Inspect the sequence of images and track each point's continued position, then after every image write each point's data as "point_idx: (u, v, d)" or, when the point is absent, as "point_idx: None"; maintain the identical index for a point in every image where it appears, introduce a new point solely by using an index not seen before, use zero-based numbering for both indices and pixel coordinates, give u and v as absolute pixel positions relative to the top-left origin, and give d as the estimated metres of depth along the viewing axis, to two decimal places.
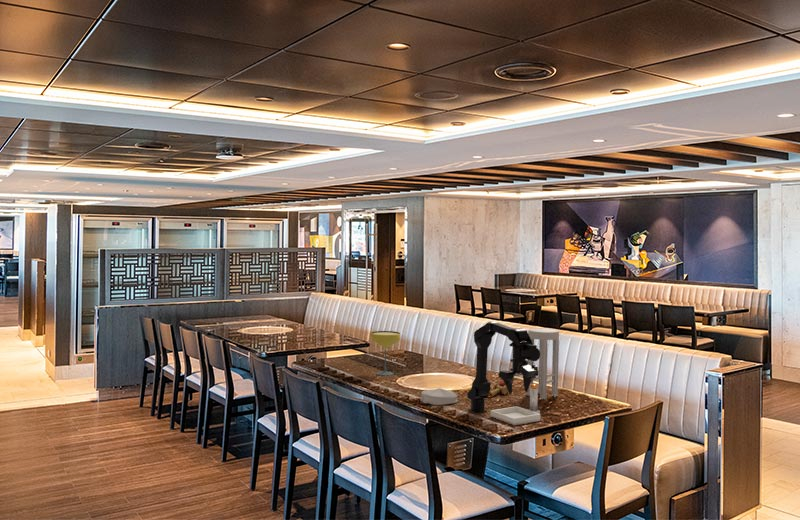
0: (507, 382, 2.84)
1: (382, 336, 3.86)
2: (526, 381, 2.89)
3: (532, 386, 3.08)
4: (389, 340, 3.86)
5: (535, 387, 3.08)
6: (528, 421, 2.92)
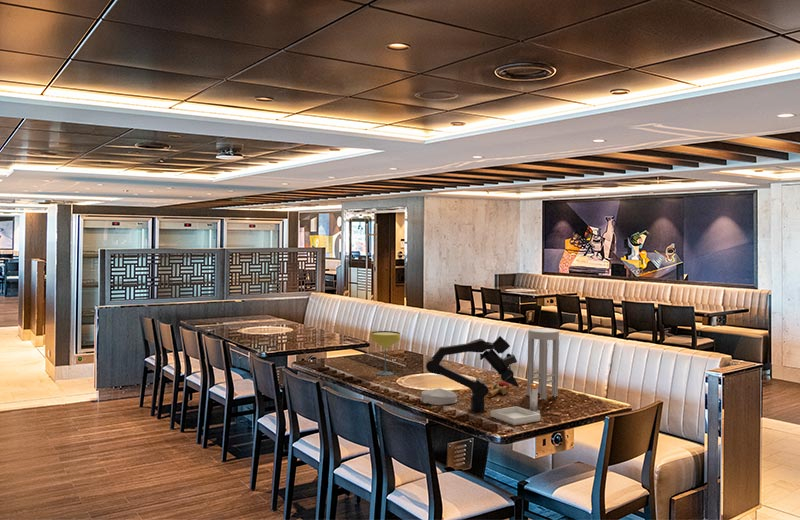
0: (510, 380, 3.04)
1: (382, 336, 3.86)
2: None
3: (532, 386, 3.08)
4: (389, 340, 3.86)
5: (535, 387, 3.08)
6: (528, 421, 2.92)
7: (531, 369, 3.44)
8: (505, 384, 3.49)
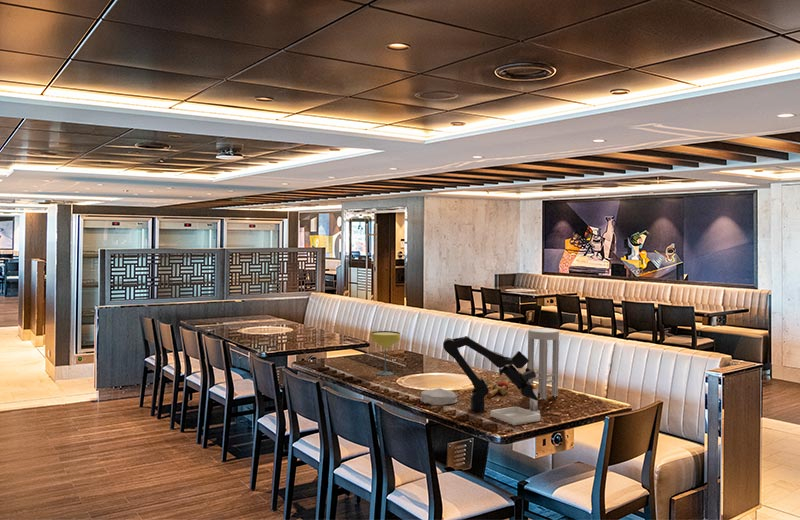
0: (529, 393, 3.06)
1: (382, 336, 3.86)
2: None
3: None
4: (389, 340, 3.86)
5: (535, 387, 3.08)
6: (528, 421, 2.92)
7: None
8: (504, 384, 3.49)
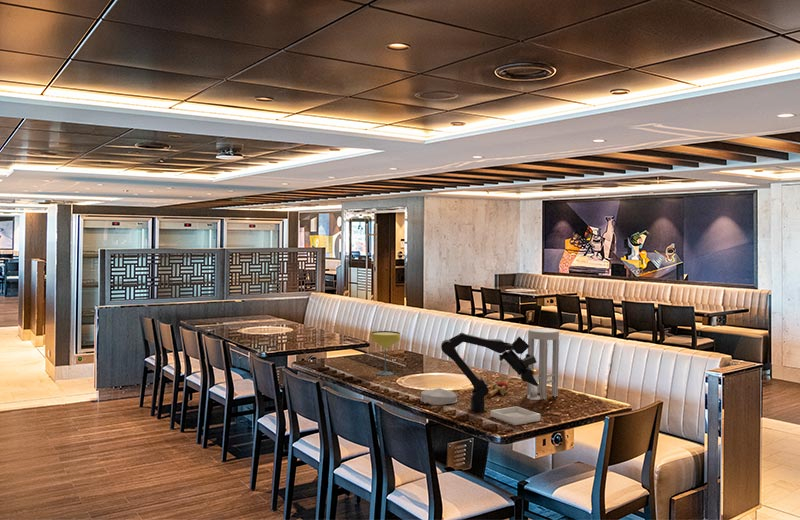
0: (529, 379, 3.06)
1: (382, 336, 3.86)
2: None
3: None
4: (389, 340, 3.86)
5: (535, 373, 3.07)
6: (528, 421, 2.92)
7: (531, 369, 3.44)
8: (504, 384, 3.49)
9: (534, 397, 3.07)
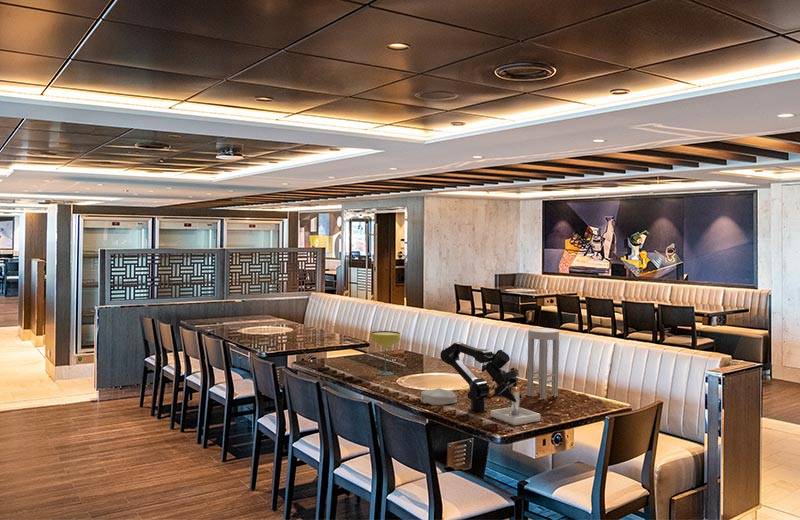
0: (506, 394, 2.95)
1: (382, 336, 3.86)
2: None
3: (512, 389, 2.98)
4: (389, 340, 3.86)
5: (515, 390, 2.97)
6: (528, 421, 2.92)
7: (531, 369, 3.44)
8: None
9: (513, 415, 2.96)
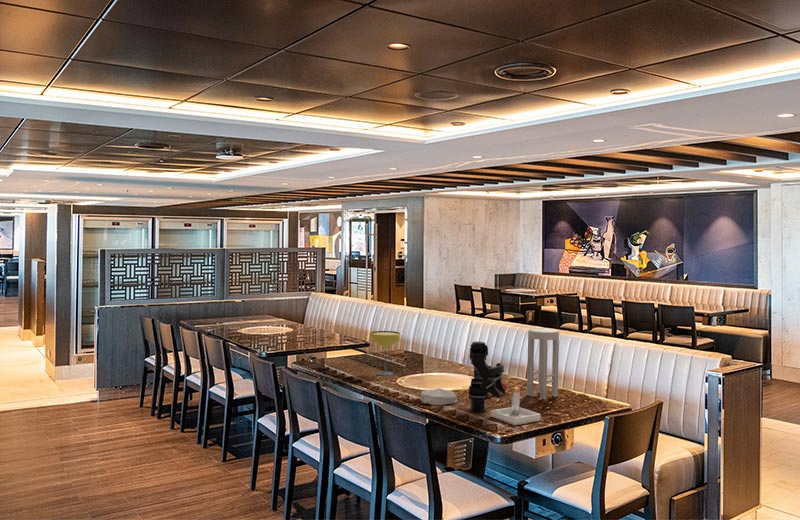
0: (491, 390, 2.99)
1: (382, 336, 3.86)
2: (498, 385, 3.08)
3: (512, 389, 2.97)
4: (389, 340, 3.86)
5: (515, 390, 2.96)
6: (528, 421, 2.92)
7: (531, 369, 3.44)
8: (502, 384, 3.48)
9: (513, 415, 2.96)
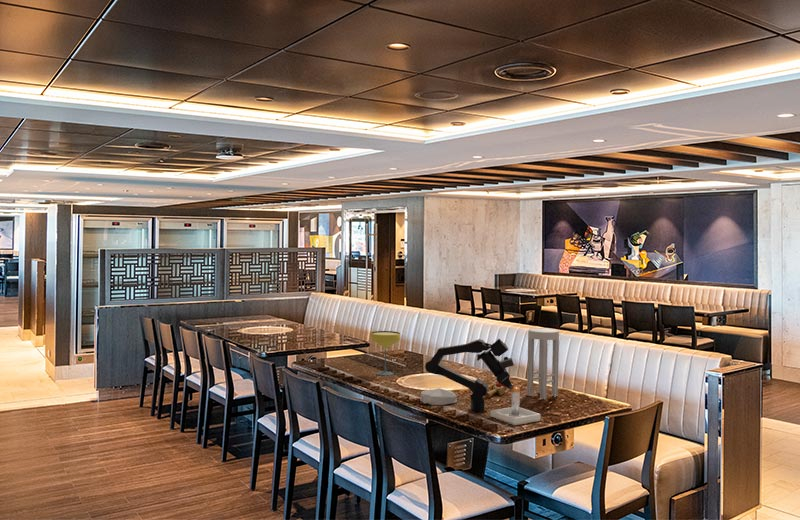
0: (505, 382, 3.03)
1: (382, 336, 3.86)
2: None
3: (512, 389, 2.97)
4: (389, 340, 3.86)
5: (515, 390, 2.96)
6: (528, 421, 2.92)
7: (531, 369, 3.44)
8: None
9: (513, 415, 2.96)
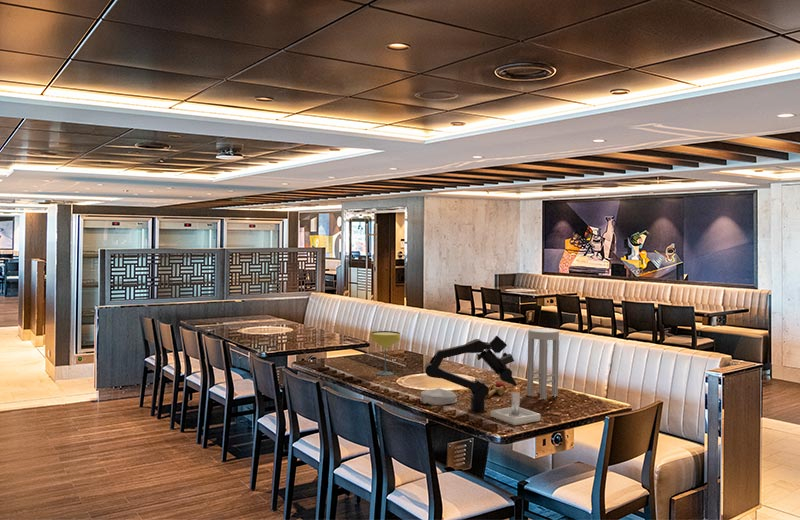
0: (508, 379, 3.05)
1: (382, 336, 3.86)
2: None
3: (512, 389, 2.97)
4: (389, 340, 3.86)
5: (515, 390, 2.96)
6: (528, 421, 2.92)
7: (531, 369, 3.44)
8: (502, 385, 3.48)
9: (513, 415, 2.96)
